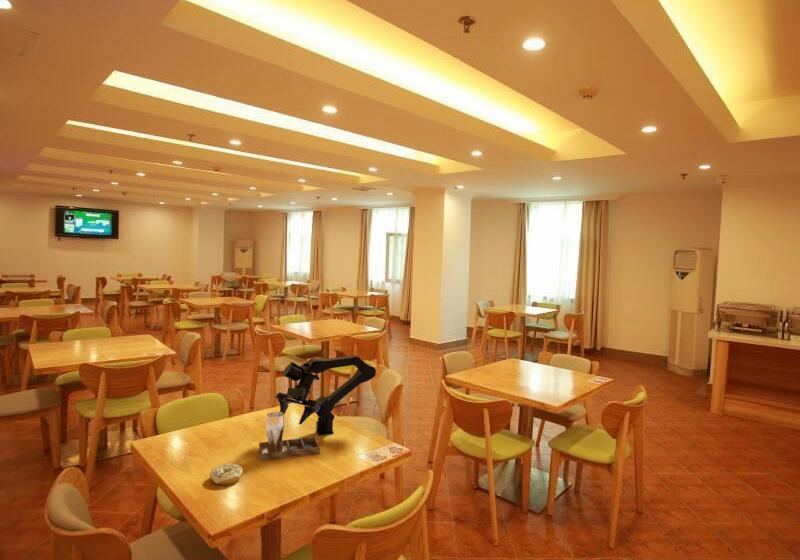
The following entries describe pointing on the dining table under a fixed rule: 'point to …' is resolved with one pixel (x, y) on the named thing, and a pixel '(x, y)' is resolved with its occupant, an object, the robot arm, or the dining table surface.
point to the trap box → (291, 448)
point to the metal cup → (275, 431)
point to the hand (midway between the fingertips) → (290, 421)
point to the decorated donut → (226, 474)
